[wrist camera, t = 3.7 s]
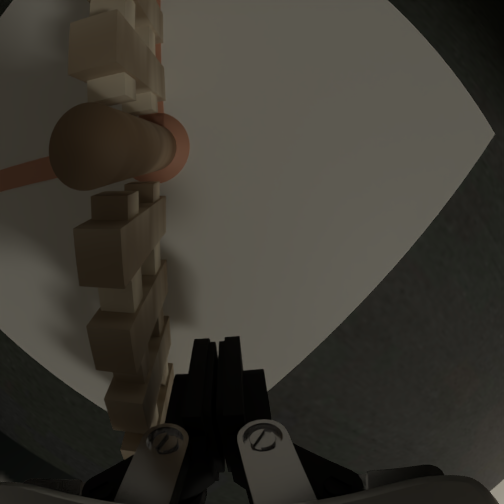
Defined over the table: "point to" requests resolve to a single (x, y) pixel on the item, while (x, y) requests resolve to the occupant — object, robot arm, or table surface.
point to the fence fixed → (113, 98)
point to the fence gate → (128, 305)
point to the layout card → (237, 173)
